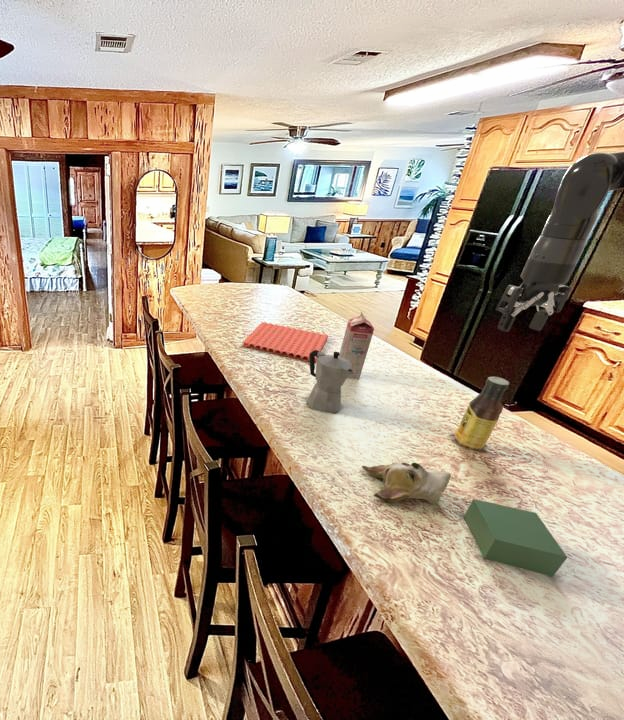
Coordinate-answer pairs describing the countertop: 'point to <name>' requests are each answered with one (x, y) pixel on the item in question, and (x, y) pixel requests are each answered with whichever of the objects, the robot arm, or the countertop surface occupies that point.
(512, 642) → the countertop surface
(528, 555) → the green block
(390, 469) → the ceramic sculpture
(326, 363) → the coffeepot
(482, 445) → the sauce bottle
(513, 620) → the countertop surface
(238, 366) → the countertop surface
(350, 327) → the juice carton
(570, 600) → the countertop surface
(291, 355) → the red corrugated roof tile
